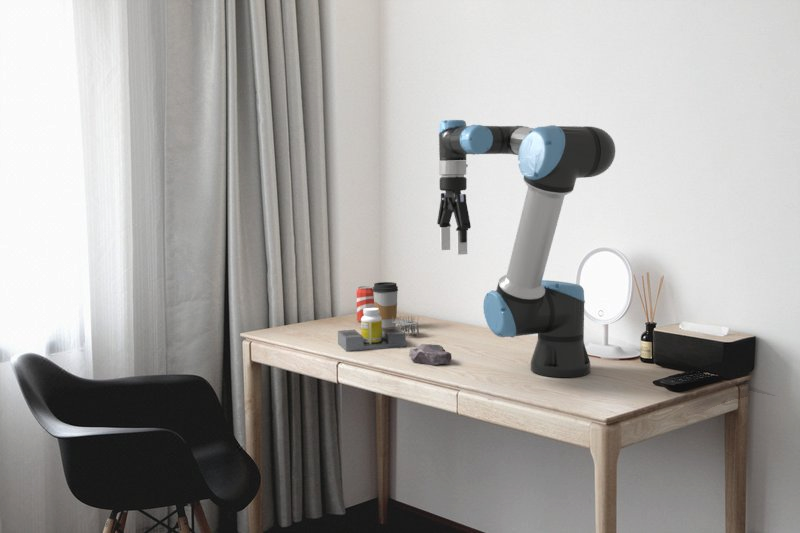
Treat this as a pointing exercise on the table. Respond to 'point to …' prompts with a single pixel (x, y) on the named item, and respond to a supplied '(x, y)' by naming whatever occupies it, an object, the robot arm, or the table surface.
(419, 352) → the rock
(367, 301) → the beverage can
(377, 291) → the coffee cup
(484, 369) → the table surface
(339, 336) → the grey recessed block
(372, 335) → the pill bottle
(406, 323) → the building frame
